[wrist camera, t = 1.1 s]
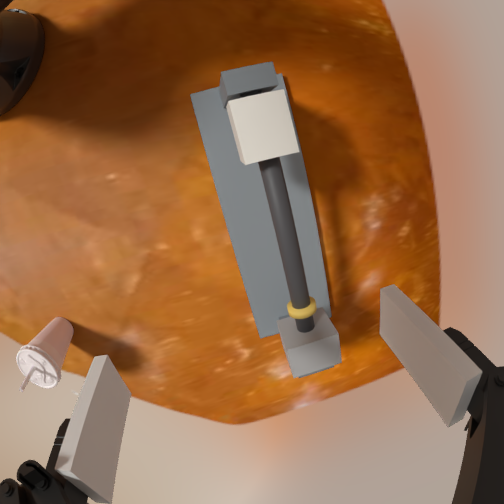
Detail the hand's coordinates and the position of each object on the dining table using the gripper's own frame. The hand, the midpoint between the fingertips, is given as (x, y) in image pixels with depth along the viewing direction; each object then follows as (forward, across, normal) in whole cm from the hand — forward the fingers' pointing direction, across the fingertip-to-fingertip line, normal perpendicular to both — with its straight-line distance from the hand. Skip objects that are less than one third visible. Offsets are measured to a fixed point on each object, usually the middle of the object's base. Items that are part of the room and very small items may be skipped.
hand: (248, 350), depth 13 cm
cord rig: (+23, +5, -1) cm, 24 cm away
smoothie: (+23, -27, -9) cm, 37 cm away
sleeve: (+16, +5, +9) cm, 19 cm away
